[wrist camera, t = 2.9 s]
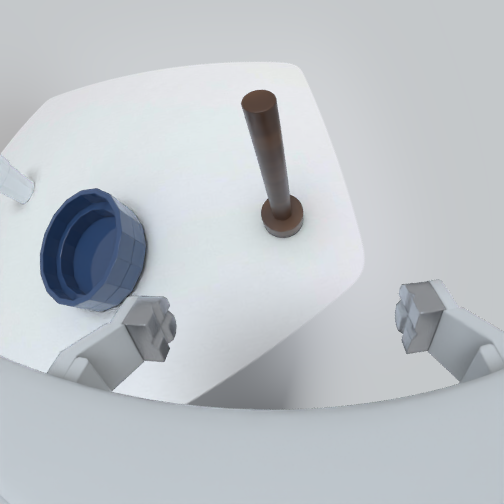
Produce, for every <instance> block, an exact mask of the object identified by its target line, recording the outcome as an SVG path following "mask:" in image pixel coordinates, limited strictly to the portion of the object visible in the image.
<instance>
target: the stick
mask: <svg viewBox="0 0 504 504" xmlns="http://www.w3.org/2000/svg"><path fill="white" fill-rule="evenodd" d="M241 105H242V109H243V112H244V115H245V119H246V122H247V125H248V129H249V132H250V136H251V139H252V142H253V146H254V149H255V153H256V156H257V160H258V163H259V167H260V170H261V174H262V177H263V181H264V184H265V188H266V192H267V195H268V199H267V200H266V201H265V203H264V204H263V207H262V210H261V216H262V220H263V223H264V225H265V228H266V229H267V231H268V232H269V233H270V234H272V235H274V236H276V237H280V238H285V237H290V236H292V235H294V234H296V233H297V232H298V231H299V230H300V228H301V226H302V224H303V208H302V205H301V203H300V202H299V200H298V199H297V198H295V197H294V196H292V195H290V194H289V185H288V177H287V169H286V162H285V154H284V147H283V140H282V133H281V126H280V120H279V113H278V107H277V100H276V97H275V95H274V94H273V93H271V92H270V91H267V90H255V91H252V92H250V93H248V94H247V95H245V96H244V97H243V99H242V102H241Z"/></svg>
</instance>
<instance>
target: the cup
mask: <svg viewBox="0 0 504 504" xmlns="http://www.w3.org/2000/svg"><path fill="white" fill-rule="evenodd" d="M33 191H34V182H32V181H31V180H30V179H28V178H27V177H26V176H24V175H23V174H22V173H21V172H19V171H18V170H17V169H15V168H14V167H13V166H12V165H11V164H10V162H9V160H7V159H6V158H5V157H4V156H2V155H1V154H0V193H2V194H4V195H6V196H8V197H10V198H12V199H14V200H16V201H18V202H20V203H22V204H25V203H26V202H27V201H28V200H29V199H30V197H31V195H32V193H33Z"/></svg>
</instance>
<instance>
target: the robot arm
mask: <svg viewBox="0 0 504 504" xmlns="http://www.w3.org/2000/svg"><path fill="white" fill-rule="evenodd" d="M399 296H400V298H401V300H400V301H399V302H398V303H397V304H396V310H395V322H396V326H397V329H398V331H399V332H401V333H402V334H403V336H402V343H403V345H404V348H405V351H406V354H410V353H416V352H422V351H428V352H429V353H430V354H431V355H432V356H433V357H434V358H435V359H436V360H437V361H438V362H439V363H441V364H442V365H443V366H444V367H445V368H446V369H447V370H448V371H449V372H450V373H451V374H452V375H453V376H454V377H455V378H456V379H457V380H459V381H460V383H459V384H456V385H453V386H450V387H446V388H442V389H438V390H434V391H430V392H426V393H421V394H417V395H412V396H407V397H401V398H396V399H391V400H384V401H379V402H372V403H364V404H356V405H347V406H338V407H326V408H311V409H285V410H284V409H281V410H260V409H231V408H216V407H204V406H194V405H185V404H177V403H170V402H163V401H156V400H150V399H144V398H139V397H134V396H128V395H124V394H119V393H114V392H112V391H113V390H114V389H115V388H116V387H117V386H118V385H119V384H120V383H121V382H122V381H124V380H125V379H126V378H127V377H128V376H129V375H130V374H131V373H132V372H133V371H134V370H136V369H137V368H138V367H139V366H140V365H141V364H142V363H143V362H144V361H157V362H164V361H165V359H166V357H167V354H168V352H169V349H170V348H169V345H168V343H170V342H171V341H172V340H174V337H175V334H176V320H175V318H174V315H173V314H172V313H171V312H169V311H168V309H169V307H170V304H169V302H168V300H167V298H166V297H164V296H129V297H127V298H126V300H125V301H124V302H123V304H122V305H121V307H120V308H119V310H118V311H117V313H116V314H115V316H114V317H113V319H112V320H111V322H110V323H106V324H104V325H102V326H101V327H99V328H98V329H96V330H94V331H93V332H91V333H90V334H88V335H86V336H85V337H83V338H82V339H80V340H79V341H77V342H75V343H74V344H72V345H71V346H69V347H67V348H66V349H64V350H63V351H61V352H60V354H59V355H58V357H57V358H56V360H55V361H54V363H53V364H52V366H51V367H50V369H49V370H48V372H47V373H44V372H41V371H38V370H35V369H33V368H30V367H27V366H25V365H22V364H20V363H17V362H15V361H12V360H10V359H8V358H5V357H3V356H1V355H0V504H504V332H503V331H502V330H500V329H499V328H497V327H495V326H494V325H492V324H491V323H489V322H487V321H486V320H484V319H482V318H480V317H479V316H477V315H475V314H474V313H472V312H470V311H469V310H467V309H465V308H463V307H461V308H459V306H458V305H457V303H456V302H455V300H454V298H453V297H452V295H451V294H450V292H449V291H448V289H447V288H446V286H445V285H444V283H443V282H442V281H441V280H439V279H438V280H431V281H427V282H419V283H410V284H402V285H401V287H400V290H399Z"/></svg>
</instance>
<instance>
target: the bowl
mask: <svg viewBox="0 0 504 504" xmlns="http://www.w3.org/2000/svg"><path fill="white" fill-rule="evenodd" d="M145 250H146V242H145V237H144V231H143V226H142V224H141V223H140V221H139V220H138V218H137V217H136V216H135V214H134V213H133V211H131V210H130V209H129V208H127V207H126V206H125V205H123V204H122V203H121V202H120V201H118V200H117V199H116V198H114V197H113V196H112V195H110V194H109V193H106V192H104V191H102V190H100V189H97V188H95V189H88V190H82V191H80V192H78V193H76V194H75V195H73V196H72V197H70V198H69V199H67V200H66V201H65V202H64V203H63V204H62V206H61V207H60V208H59V209H58V210H57V212H56V213H55V214H54V216H53V217H52V219H51V221H50V223H49V226H48V228H47V230H46V232H45V234H44V238H43V242H42V247H41V252H40V272H41V277H42V280H43V283H44V286H45V288H46V291H47V293H48V294H49V295H50V296H51V297H52V298H53V299H54V300H55V301H56V302H57V303H58V304H63V305H67V306H72V307H77V308H83V309H88V310H94V311H100V312H101V311H104V310H107V309H109V308H112V307H115V306H117V305H119V304H120V303H121V302H122V301H123V300H124V299H125V298H126V297H127V296H128V295H129V294H130V293H131V292H132V290H133V288H134V286H135V284H136V282H137V280H138V278H139V276H140V274H141V272H142V269H143V263H144V257H145Z"/></svg>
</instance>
